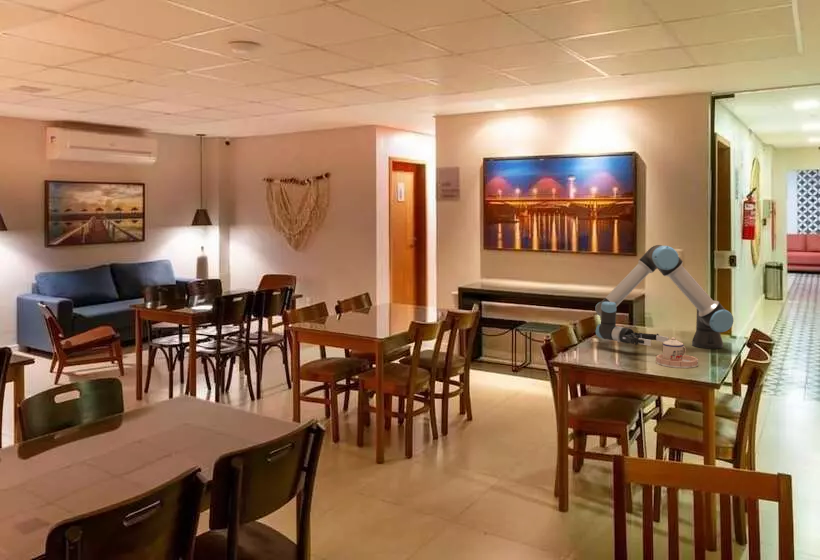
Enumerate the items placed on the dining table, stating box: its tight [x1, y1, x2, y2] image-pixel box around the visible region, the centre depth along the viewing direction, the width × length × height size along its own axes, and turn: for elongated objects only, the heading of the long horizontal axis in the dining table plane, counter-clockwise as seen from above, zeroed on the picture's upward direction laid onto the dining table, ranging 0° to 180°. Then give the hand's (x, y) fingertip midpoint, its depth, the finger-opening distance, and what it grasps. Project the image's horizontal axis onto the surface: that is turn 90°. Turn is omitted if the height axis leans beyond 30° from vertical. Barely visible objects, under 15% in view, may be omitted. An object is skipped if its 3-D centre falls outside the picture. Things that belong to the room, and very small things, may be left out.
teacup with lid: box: [662, 337, 687, 362], centre depth 313 cm, size 12×9×12 cm
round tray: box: [655, 353, 699, 369], centre depth 313 cm, size 18×18×3 cm
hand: (659, 341), depth 321 cm, fingers open, 13 cm apart
